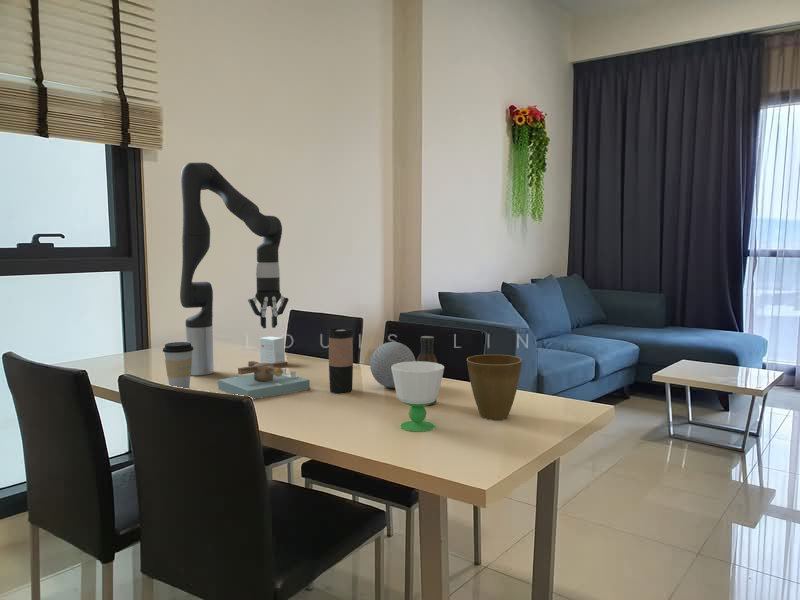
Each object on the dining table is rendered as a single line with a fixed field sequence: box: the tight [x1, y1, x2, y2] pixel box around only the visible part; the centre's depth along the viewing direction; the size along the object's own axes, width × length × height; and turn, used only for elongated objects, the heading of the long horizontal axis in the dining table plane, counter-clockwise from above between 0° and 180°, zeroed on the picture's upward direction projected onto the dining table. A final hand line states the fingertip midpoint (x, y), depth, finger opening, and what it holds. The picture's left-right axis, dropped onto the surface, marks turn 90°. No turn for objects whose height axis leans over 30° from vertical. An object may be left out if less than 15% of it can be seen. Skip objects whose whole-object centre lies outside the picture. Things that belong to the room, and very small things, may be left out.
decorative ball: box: [369, 341, 416, 389], centre depth 203 cm, size 15×15×15 cm
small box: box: [259, 336, 286, 363], centre depth 241 cm, size 8×6×10 cm
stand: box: [217, 368, 311, 400], centre depth 200 cm, size 21×22×5 cm
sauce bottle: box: [416, 335, 439, 406], centre depth 182 cm, size 6×6×20 cm
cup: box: [391, 360, 445, 433], centre depth 159 cm, size 14×14×16 cm
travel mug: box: [328, 327, 354, 395], centre depth 197 cm, size 8×8×20 cm
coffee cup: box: [162, 341, 194, 389], centre depth 199 cm, size 9×9×15 cm
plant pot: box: [466, 354, 523, 421], centre depth 169 cm, size 15×15×16 cm
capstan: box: [237, 360, 289, 381], centre depth 199 cm, size 19×17×5 cm
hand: (269, 327), depth 206 cm, fingers open, 2 cm apart
